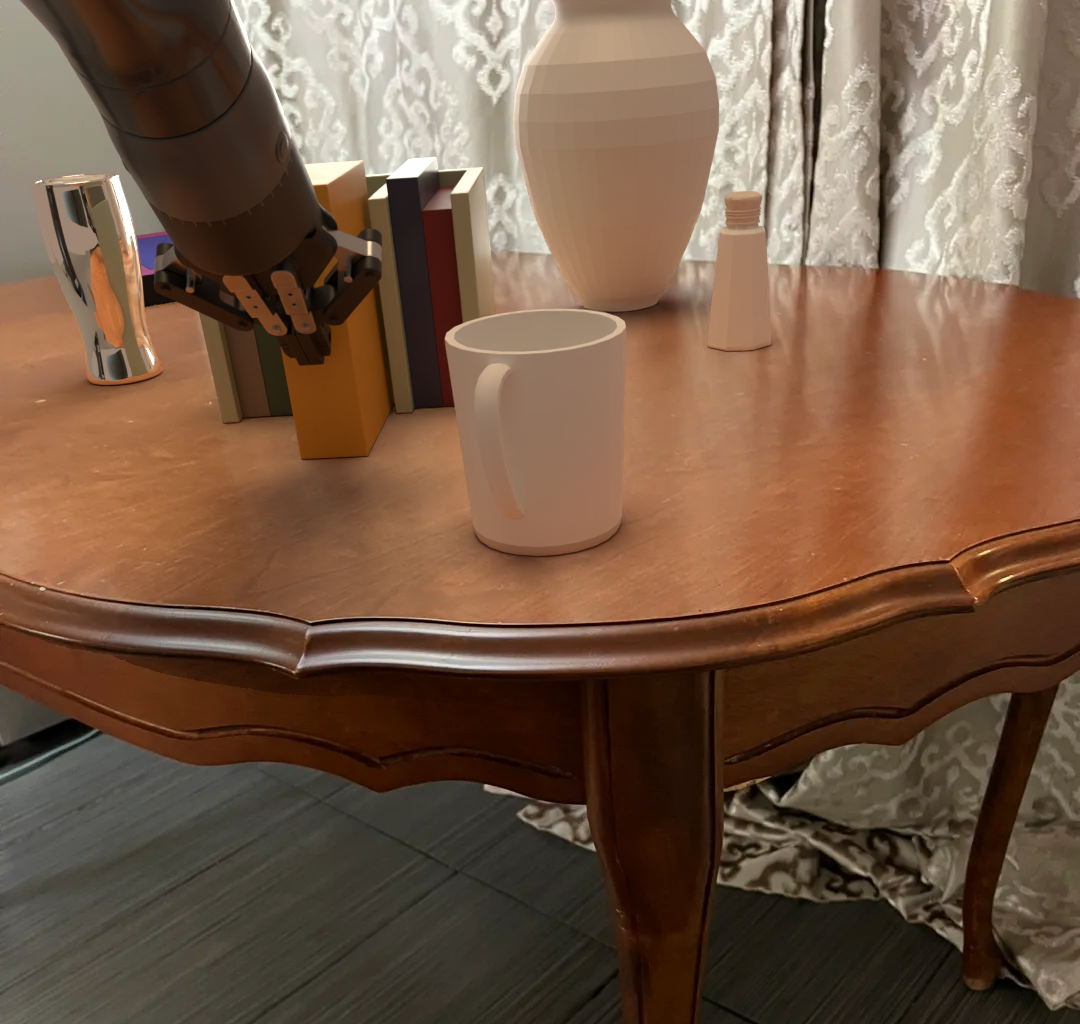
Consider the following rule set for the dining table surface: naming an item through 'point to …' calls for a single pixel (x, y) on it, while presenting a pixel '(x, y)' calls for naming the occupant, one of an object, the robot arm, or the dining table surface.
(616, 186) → the vase
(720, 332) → the pepper shaker
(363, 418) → the ochre book
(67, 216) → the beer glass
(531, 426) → the mug
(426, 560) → the dining table surface
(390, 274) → the bookrack
